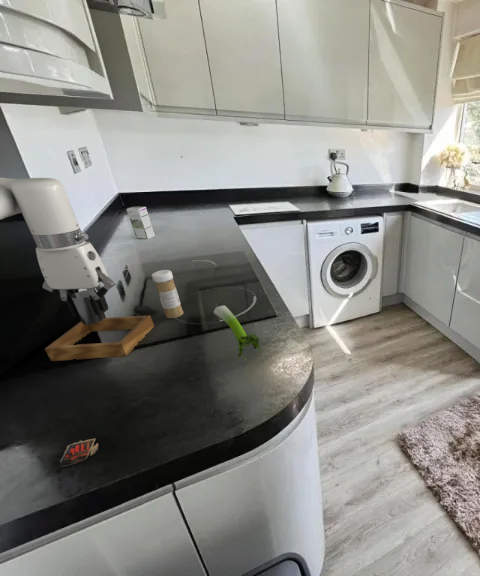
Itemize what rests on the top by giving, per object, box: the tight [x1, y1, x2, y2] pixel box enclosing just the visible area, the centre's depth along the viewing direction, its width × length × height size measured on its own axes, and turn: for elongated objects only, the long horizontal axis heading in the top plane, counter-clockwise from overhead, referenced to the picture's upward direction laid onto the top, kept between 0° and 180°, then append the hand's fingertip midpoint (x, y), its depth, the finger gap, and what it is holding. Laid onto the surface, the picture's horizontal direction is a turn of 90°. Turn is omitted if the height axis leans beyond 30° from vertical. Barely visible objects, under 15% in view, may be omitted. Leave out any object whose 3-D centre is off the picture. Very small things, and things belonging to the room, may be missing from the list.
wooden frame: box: [44, 315, 155, 362], centre depth 80 cm, size 16×13×4 cm
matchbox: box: [59, 437, 99, 468], centre depth 54 cm, size 5×5×1 cm
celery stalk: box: [213, 305, 263, 362], centre depth 83 cm, size 6×7×30 cm
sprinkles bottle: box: [151, 269, 184, 320], centre depth 90 cm, size 5×5×14 cm
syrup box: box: [126, 206, 156, 240], centre depth 154 cm, size 6×6×14 cm
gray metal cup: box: [71, 289, 107, 325], centre depth 76 cm, size 4×4×7 cm
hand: (91, 312), depth 77 cm, fingers closed on gray metal cup, 4 cm apart
